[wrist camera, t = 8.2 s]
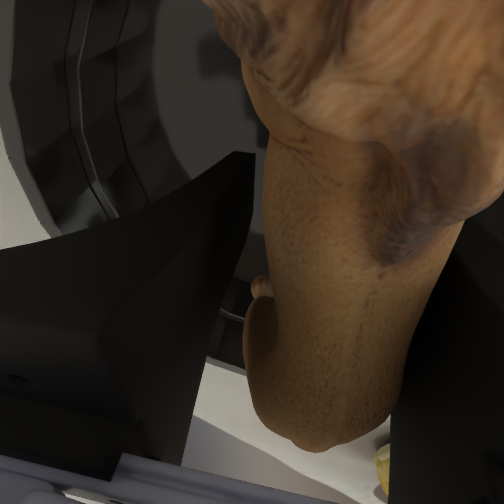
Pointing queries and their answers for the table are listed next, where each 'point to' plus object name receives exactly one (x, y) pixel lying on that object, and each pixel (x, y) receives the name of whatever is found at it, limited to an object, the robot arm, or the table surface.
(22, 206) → the table surface
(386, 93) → the lion figurine
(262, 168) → the dark grey round bowl
